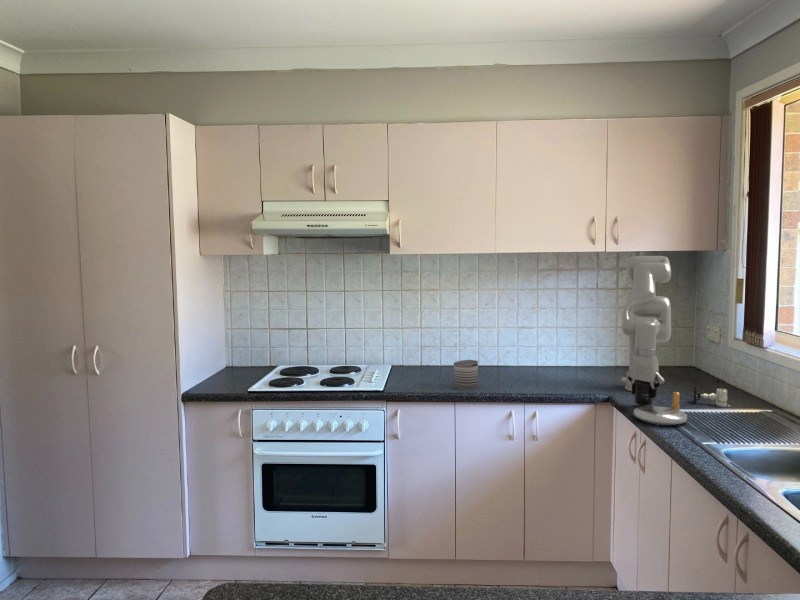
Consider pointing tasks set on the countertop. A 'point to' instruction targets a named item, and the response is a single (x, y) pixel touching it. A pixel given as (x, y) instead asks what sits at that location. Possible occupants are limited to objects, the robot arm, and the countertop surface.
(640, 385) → the supplement bottle
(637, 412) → the turntable
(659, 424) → the turntable base
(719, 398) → the valve
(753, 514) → the countertop surface
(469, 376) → the can
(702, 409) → the countertop surface
